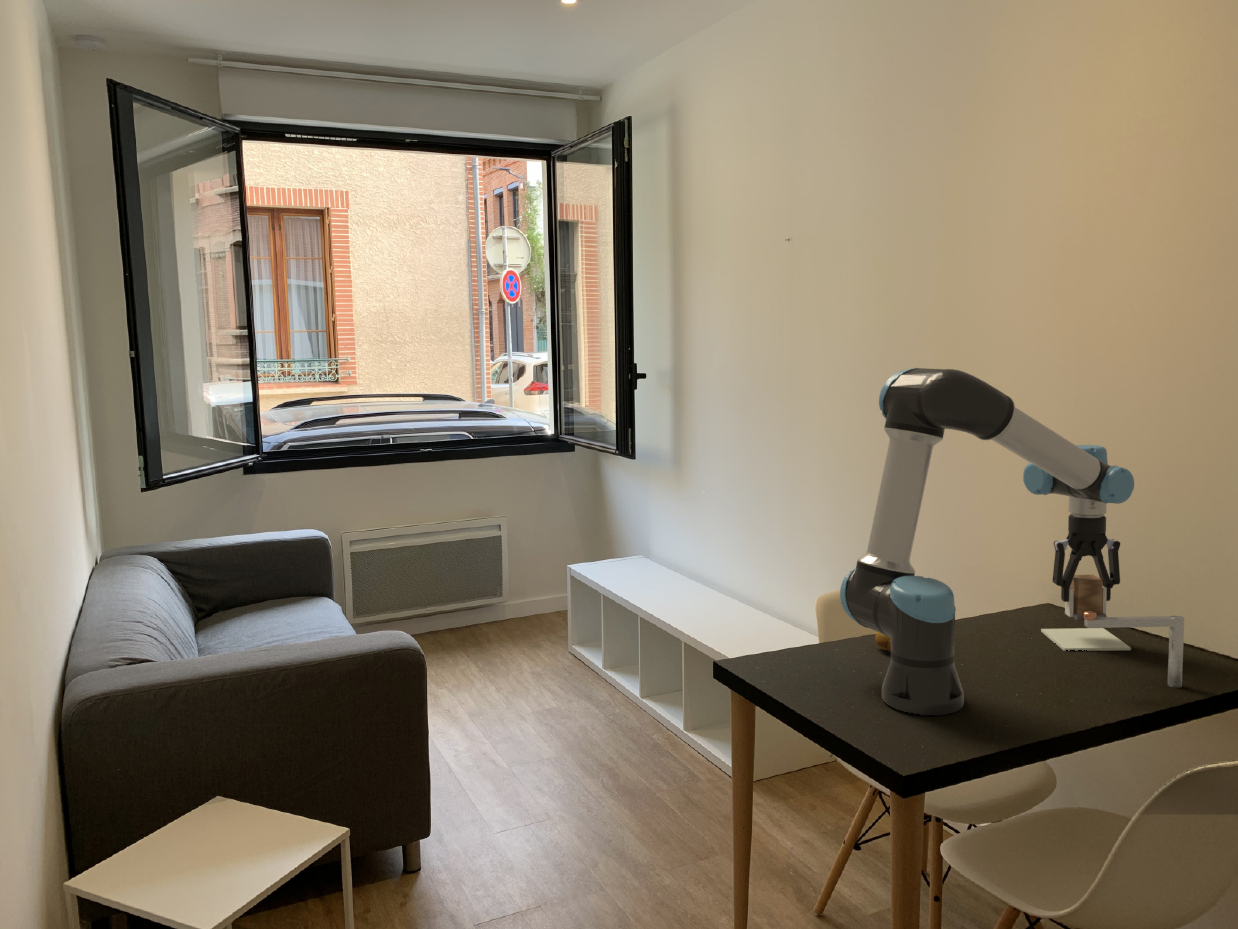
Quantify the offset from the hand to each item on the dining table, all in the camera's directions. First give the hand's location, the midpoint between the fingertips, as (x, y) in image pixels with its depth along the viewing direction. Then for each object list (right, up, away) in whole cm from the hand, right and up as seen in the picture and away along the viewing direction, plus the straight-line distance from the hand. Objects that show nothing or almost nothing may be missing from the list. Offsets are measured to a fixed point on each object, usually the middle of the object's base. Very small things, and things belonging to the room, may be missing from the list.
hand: (1085, 614), depth 210 cm
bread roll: (-42, -8, -1) cm, 43 cm away
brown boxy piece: (0, 0, 0) cm, 0 cm away
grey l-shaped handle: (-4, -10, -27) cm, 29 cm away
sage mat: (0, -6, +1) cm, 6 cm away
